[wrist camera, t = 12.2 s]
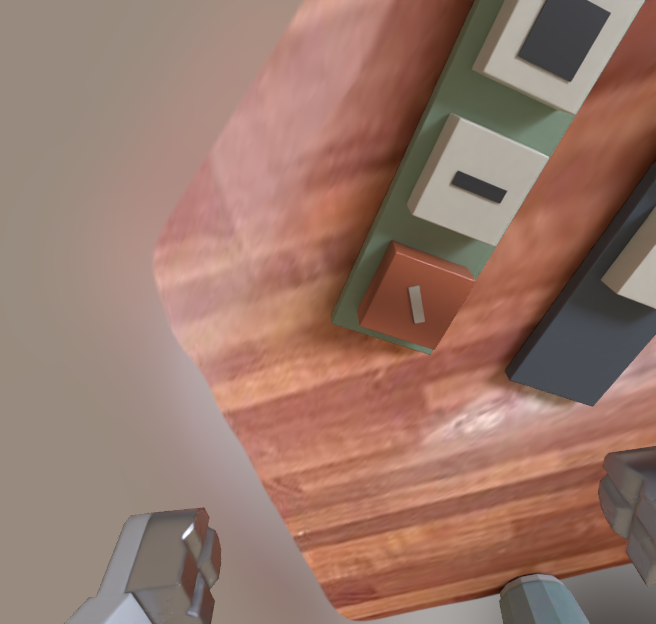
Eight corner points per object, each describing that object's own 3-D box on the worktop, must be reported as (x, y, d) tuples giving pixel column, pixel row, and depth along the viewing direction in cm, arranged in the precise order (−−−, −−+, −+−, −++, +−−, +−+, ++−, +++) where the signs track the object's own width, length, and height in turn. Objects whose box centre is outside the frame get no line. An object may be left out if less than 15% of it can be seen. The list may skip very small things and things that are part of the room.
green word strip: (520, -102, 20) (549, -122, 18) (650, -28, 21) (694, -36, 19) (330, 315, 30) (332, 340, 28) (427, 346, 32) (437, 373, 29)
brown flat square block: (391, 239, 27) (396, 252, 25) (468, 267, 28) (477, 281, 26) (356, 310, 29) (358, 327, 27) (428, 334, 30) (435, 351, 28)
